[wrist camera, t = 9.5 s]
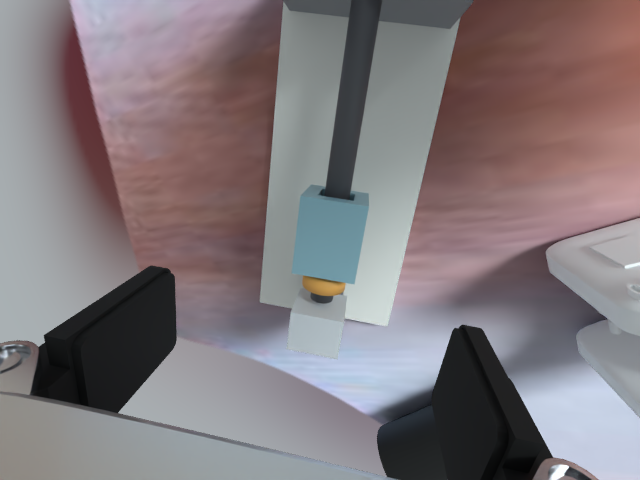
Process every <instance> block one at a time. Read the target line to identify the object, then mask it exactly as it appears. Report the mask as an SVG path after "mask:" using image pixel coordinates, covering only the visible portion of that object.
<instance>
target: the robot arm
mask: <svg viewBox="0 0 640 480" xmlns="http://www.w3.org/2000/svg"><path fill="white" fill-rule="evenodd" d="M44 339H45V343H44V344H42V345H41V346H40V347H38V346H37V345H36V344H34V343H33V342H29V341H20V340H19V341H18V340H17V341H8V342H4V343H0V480H398V479H393V478H389V477H385V476H381V475H377V474H373V473H368V472H365V471H360V470H356V469H352V468H348V467H344V466H340V465H336V464H331V463H327V462H323V461H319V460H315V459H311V458H307V457H303V456H299V455H294V454H290V453H286V452H282V451H278V450H273V449H269V448H265V447H261V446H256V445H252V444H248V443H244V442H240V441H235V440H231V439H227V438H223V437H218V436H214V435H210V434H205V433H201V432H197V431H193V430H188V429H184V428H180V427H175V426H171V425H167V424H162V423H158V422H153V421H149V420H145V419H141V418H136V417H131V416H127V415H123V414H119V413H118V412H119V411H120V410H121V408H122V407H123V406H124V405H125V404H126V403H127V402H128V400H129V399H130V398H131V397H132V396H133V395H134V394H135V392H136V391H137V390H138V389H139V388H140V386H141V385H142V384H143V383H144V382H145V381H146V380H147V378H148V377H149V376H150V375H151V374H152V373H153V372H154V370H155V369H156V368H157V367H158V366H159V365H160V364H161V362H162V361H163V360H164V359H165V358H166V357H167V356H168V354H169V353H170V352H171V351H172V350H173V348H174V346H175V344H176V304H175V277H174V275H173V274H171V272H170V270H169V269H167V268H162V267H157V266H149V267H148V268H146V269H144V270H143V271H141V272H140V273H138V274H137V275H136V276H134V277H132V278H131V279H129V280H128V281H126V282H125V283H123V284H122V285H120V286H119V287H117V288H115V289H114V290H112V291H111V292H109V293H108V294H106V295H105V296H103V297H102V298H100V299H99V300H97V301H96V302H94V303H92V304H91V305H89V306H88V307H87V308H85V309H83V310H82V311H80V312H79V313H77V314H76V315H74V316H73V317H71V318H70V319H68V320H66V321H65V322H64V323H62V324H60V325H59V326H57V327H56V328H54V329H53V330H51V331H50V332H48V333H47V334H45V335H44ZM432 408H433V413H434V418H435V422H436V427H437V432H438V437H439V441H440V446H441V451H442V455H443V460H444V465H445V470H446V474H447V479H448V480H598V479H597V478H596V477H595V476H593V475H592V474H591V473H589V472H588V471H587V470H585V469H583V468H582V467H580V466H578V465H576V464H575V463H572V462H569V461H567V460H564V459H559V458H553V457H552V455H551V453H550V451H549V449H548V447H547V445H546V444H545V442H544V440H543V438H542V436H541V434H540V432H539V431H538V429H537V427H536V425H535V423H534V421H533V419H532V418H531V416H530V414H529V412H528V410H527V408H526V406H525V405H524V403H523V401H522V399H521V397H520V395H519V393H518V392H517V390H516V388H515V386H514V384H513V382H512V381H511V380H510V379H509V378H508V376H507V375H506V373H505V371H504V369H503V367H502V365H501V363H500V361H499V360H498V358H497V356H496V354H495V352H494V350H493V348H492V346H491V345H490V343H489V341H488V339H487V337H486V335H485V333H484V331H483V330H482V329H481V328H477V327H472V326H467V325H461V326H460V327H459V329H458V328H454V329H453V331H452V334H451V337H450V340H449V344H448V347H447V350H446V353H445V356H444V359H443V362H442V365H441V368H440V371H439V374H438V377H437V380H436V384H435V387H434V390H433V393H432Z"/></svg>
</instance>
